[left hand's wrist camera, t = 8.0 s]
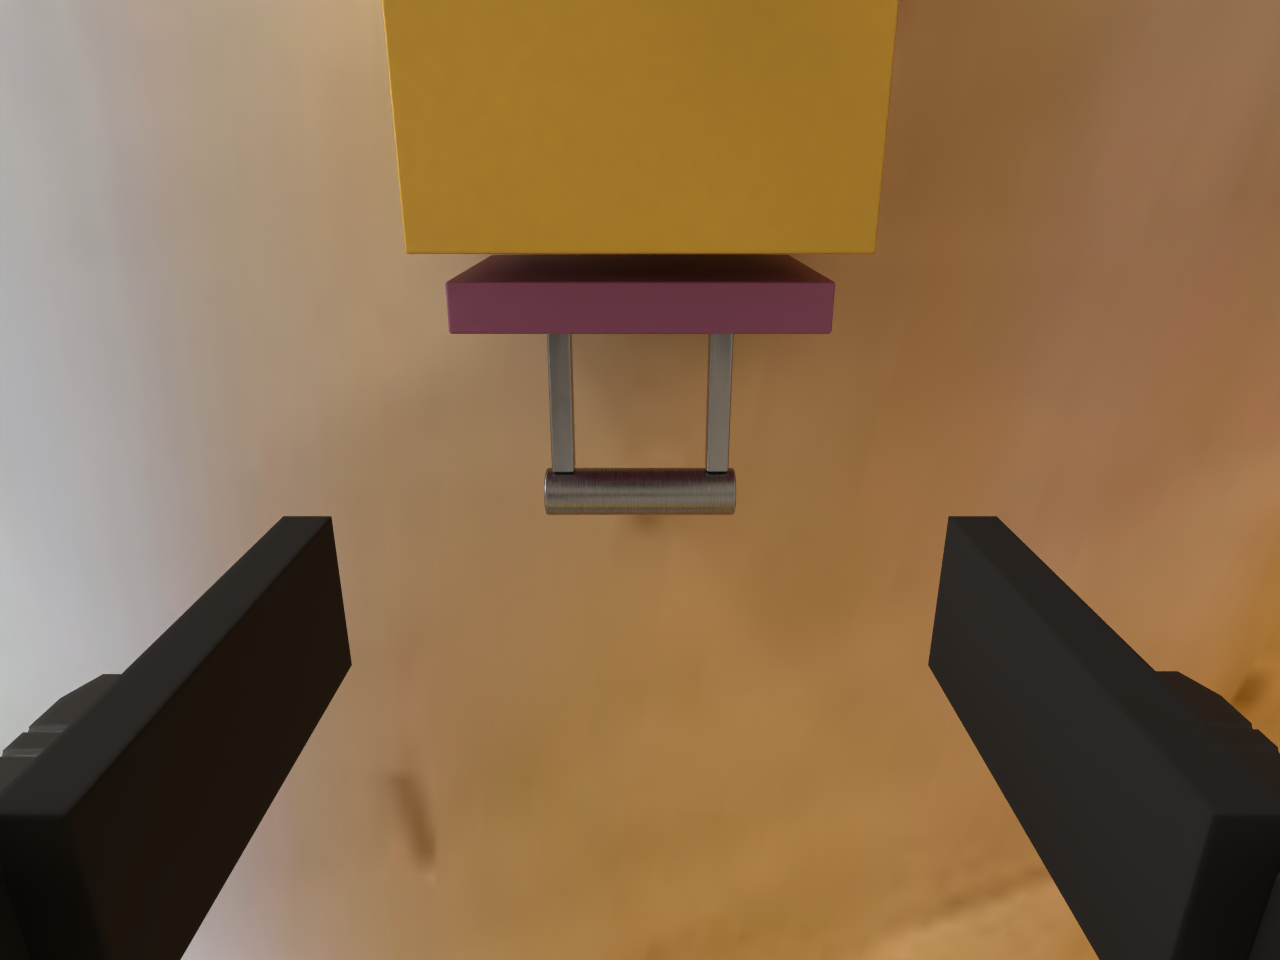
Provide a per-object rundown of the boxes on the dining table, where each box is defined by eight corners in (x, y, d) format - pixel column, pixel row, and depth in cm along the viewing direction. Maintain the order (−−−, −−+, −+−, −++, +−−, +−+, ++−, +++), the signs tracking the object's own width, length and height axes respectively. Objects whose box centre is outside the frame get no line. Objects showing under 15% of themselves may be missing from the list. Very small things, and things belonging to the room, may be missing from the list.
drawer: (777, 465, 27) (814, 546, 22) (503, 465, 27) (465, 546, 22) (835, -499, 19) (921, -792, 13) (445, -499, 19) (359, -791, 13)
